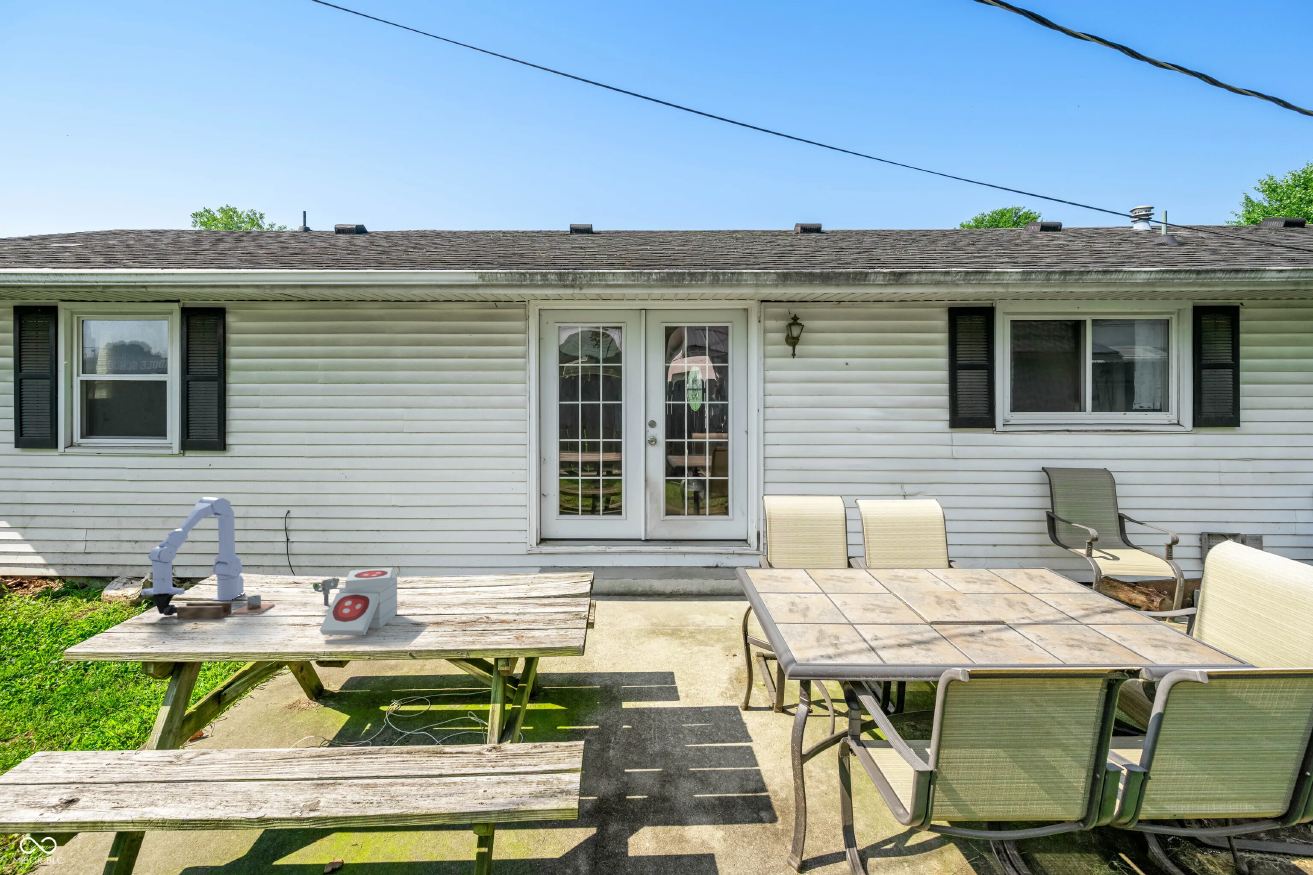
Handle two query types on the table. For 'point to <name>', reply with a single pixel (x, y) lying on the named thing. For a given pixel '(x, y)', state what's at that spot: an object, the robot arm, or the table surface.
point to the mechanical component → (326, 587)
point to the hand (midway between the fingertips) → (163, 612)
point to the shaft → (169, 610)
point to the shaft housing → (204, 610)
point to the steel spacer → (254, 602)
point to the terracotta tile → (260, 610)
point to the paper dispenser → (362, 603)
